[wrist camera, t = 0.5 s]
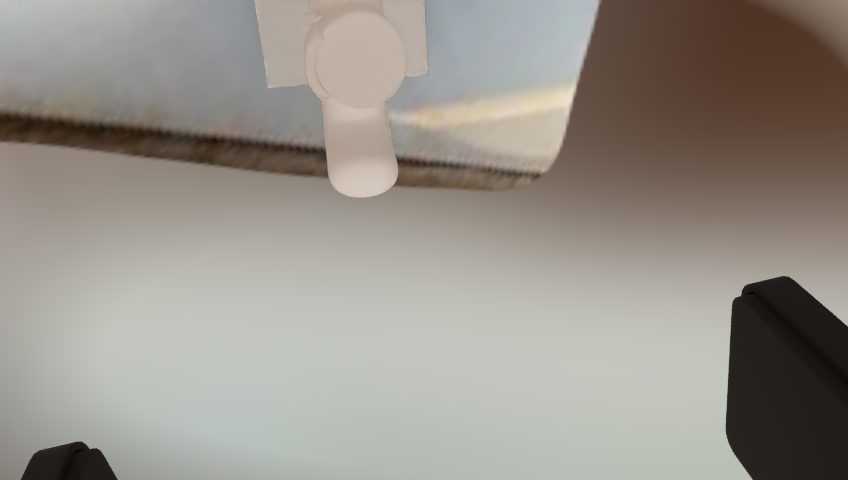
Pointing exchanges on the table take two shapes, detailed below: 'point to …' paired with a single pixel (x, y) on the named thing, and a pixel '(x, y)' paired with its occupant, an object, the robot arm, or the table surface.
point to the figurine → (347, 75)
